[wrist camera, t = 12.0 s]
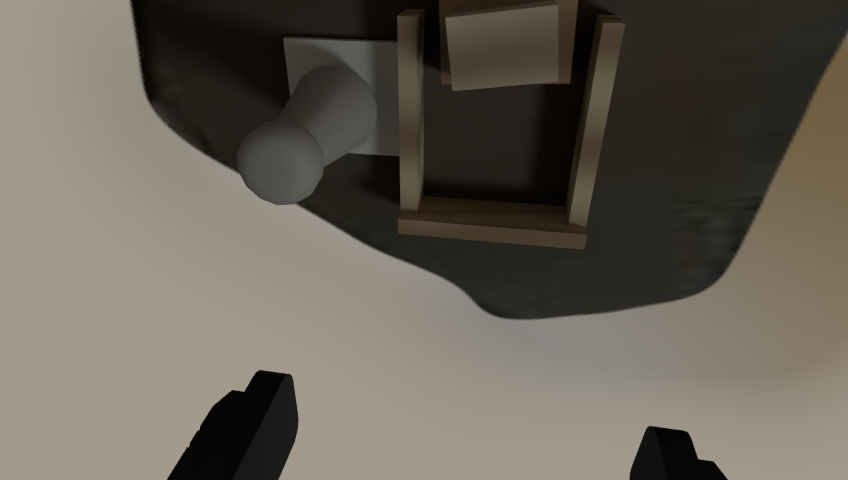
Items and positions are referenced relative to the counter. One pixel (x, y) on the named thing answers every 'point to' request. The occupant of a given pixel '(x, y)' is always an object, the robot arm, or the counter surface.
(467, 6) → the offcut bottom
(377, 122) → the coaster
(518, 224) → the frame
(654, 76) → the counter surface
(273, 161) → the salt shaker
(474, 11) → the offcut top
